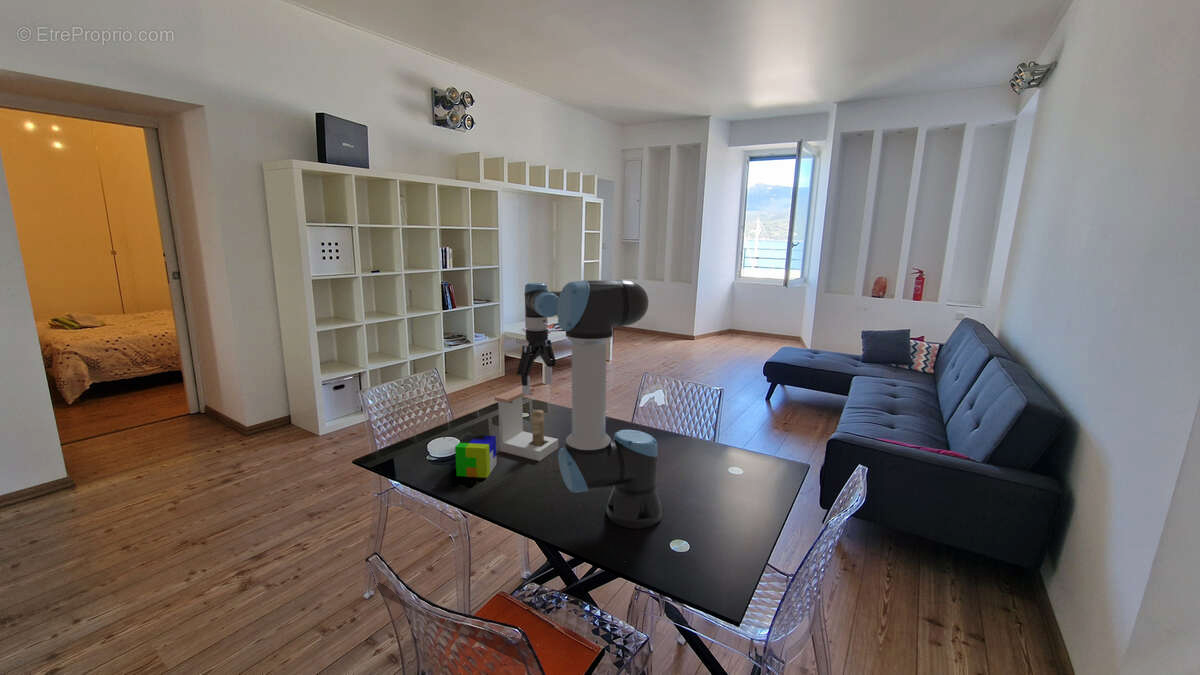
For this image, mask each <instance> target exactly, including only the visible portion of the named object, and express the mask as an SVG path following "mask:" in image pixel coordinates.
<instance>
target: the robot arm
mask: <svg viewBox="0 0 1200 675" xmlns="http://www.w3.org/2000/svg"><path fill="white" fill-rule="evenodd" d="M523 295H524V313H525V314H524V315H525V316H524V317H525V318H524V319H525V320H524V322H525V325H524V326H525V329H526V330H525V340H526V341H527V342H528V345H522V350H521V351H522V352H521V355H520V359H519V363H518V367H517V371H516V375H517V376H521V386H522V394H525V395H524V396H530V387H531V376H530V375H529V374H530V373H531V372H530V371H531V369H532V367H533V365H534V362H535V360H536V359H537V358H538V357H541V359H542V361H543V362H544V364H545V366H544V384H545V385H548V386H552V385H553V367H556V363H557V360H556V356H555V353H554V351H553V347H552V341H551V339H549V330H548V329H547V328H548V325H549V324H548V322H549V321H548V318H553V317H555V316H556V318H557V323H558V326H559V328H560V329H561V330H562V331H564V332H565V337H566V338H567V339H568V340H569V342H571V432H570V434H568V435H567V436H566V439H565V447H561V448H560V449H559V450H558V452H557V458H558V459H557V460H558V465H559V466H558V467H559V470H560V475H561V476H562V480H563V483H564V484H565V486H566V487H567V489H568V490H569V491H570V492H571V493H575V494H576V493H582V492H583V493H588V492H589V491H594V490H601V489H604V488H608V487H610V488H611V487H613V488H612V490H611V493H610V495H609V499H608V502H607V504H606V514H607V517H608V519H609V520H610V521H612V522H613V523H614V524H616V525H618V526H620V527H623V528H628V529H638V530H639V529H645V528H650V527H652V526H654V525H656V524H658V522H660V521H661V519H662V513H663V512H662V510H663V508H662V503H661V500H660V496H659V494H658V491H657V477H658V476H657V474H658V472H657V471H658V470H657V469H658V456H659V452H658V442H657V440H656V438H654V436H652V435H651V434H649V433H646V432H643V431H641V430H635V429H621V430H617V431H616V432H615V433H614V435H613V439H612V438H611V436H609V435H608V434H607V433H606V414H607V413H606V411H607V409H606V405H607V402H606V401H607V400H606V399H607V343H608V341H610V340H611V338H613V336H614V334H613V333H614V332H613V331H614V328H619V327H626V326H627V327H628V326H631V325H633V324H636V323H637V322H639V321H641V319H642V318H643V317H644V316H645V315H646V313H647V310H648V308H649V296H648V294H647V292H646V291H645V289H644V288H643V287H642V286H641V285H640V284H638V283H637V282H635V281H631V280H627V279H614V280H613V279H611V280H607V279H606V280H605V279H604V280H600V279H599V280H597V279H594V280H587V279H586V280H578V281H577V280H576V281H575V280H574V281H569V282H567V283H566V284H565V285H564V286H563V288H562V290H561V291H560V290H559V291H549V290H548V284H546V283H543V282H528V283H526V284H525V285H524V294H523Z"/></svg>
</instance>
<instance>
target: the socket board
mask: <svg viewBox="0 0 1200 675" xmlns="http://www.w3.org/2000/svg"><path fill="white" fill-rule="evenodd" d="M558 449H559V438H554V437H550V436H545V435H544V445H543V446H541V447H538V446H534V445H533V434H532V433H531V432H527V431H525V430H523V432H521V433H519V434H518V435H516V436H514V437H512V438H511V439H509V440H507V441H505V442H503V443H502V442H500V441H499V451H500V452H502V453H506V454H510V455H515V456H518V457H522V458H526V459H529V460H530V459H531V460H534V461H538V462H540V461H542V460H543V459H545V458H547V456H549V455H550V454H551V455H552V453H553V452H555V451H557V450H558Z"/></svg>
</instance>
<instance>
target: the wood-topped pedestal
mask: <svg viewBox="0 0 1200 675" xmlns="http://www.w3.org/2000/svg"><path fill="white" fill-rule="evenodd" d="M534 391H535V387H532V386H530V395H531V394H532V392H534ZM530 395H529V396H530ZM524 396H526V395H525V394H522V385H520V386H518V387H515V388H513V389H511V390H508V391H506V392H503V393H501V394H499V395H496V396H495V397H494V401H495V402H498V404H497V405H498V425H499V426H498V427H499V428H498V430H499V432H498V433H499V443H500V442H502V443H503V442H505V441H507V440H509V439H511V438H512V437H514V436H516V435H518V434H519V433H521V432H523V431H524V418H523V417H524V415H523V414H524V411H523V410H524V409H523V408H524V406H523V402H524V401H523V397H524Z"/></svg>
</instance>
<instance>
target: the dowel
mask: <svg viewBox="0 0 1200 675" xmlns="http://www.w3.org/2000/svg"><path fill="white" fill-rule="evenodd" d="M531 415H532V416H531V417H532V418H531V420H532V422H531V423H532V424H531V425H532V428H531V429H532V434H533V445H534V446H538V447H541V446H543V445H544V436H545V430H544V429H545V428H544V427H545V424H544V422H545V418H544V417H545V416H544V410H542V409H534V410H532V412H531Z"/></svg>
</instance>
